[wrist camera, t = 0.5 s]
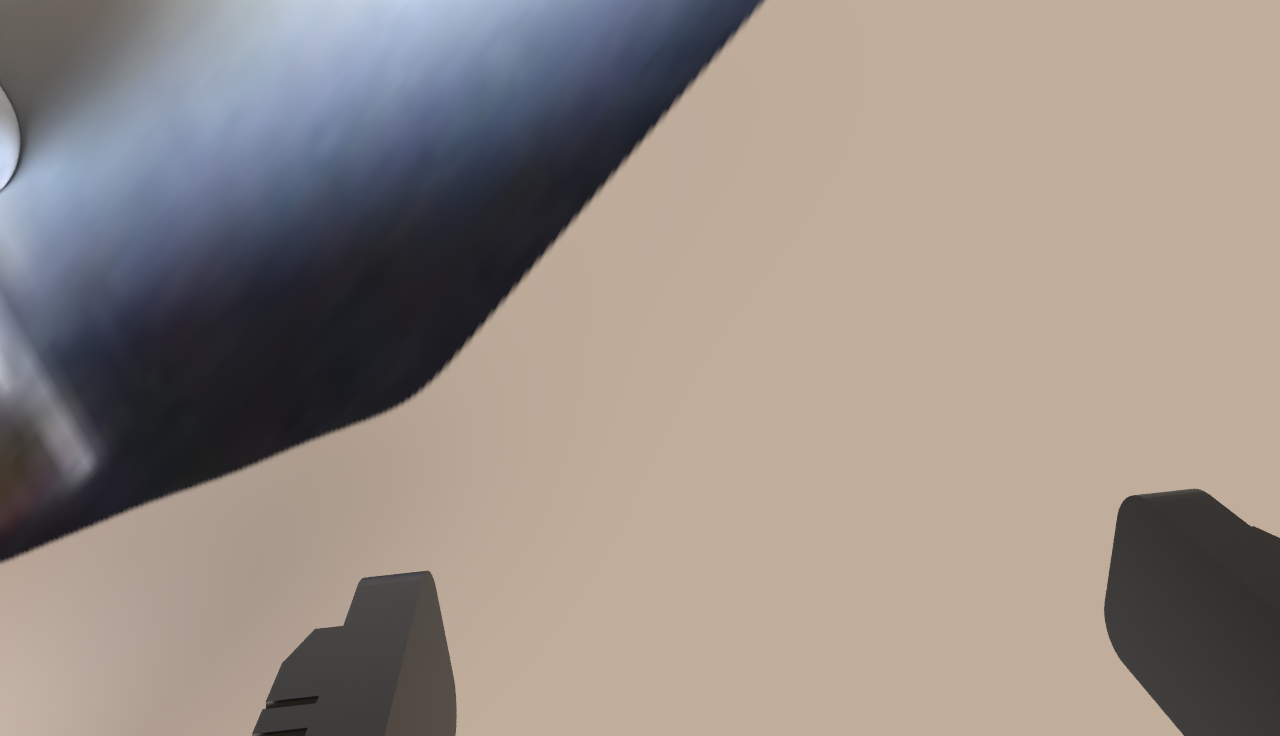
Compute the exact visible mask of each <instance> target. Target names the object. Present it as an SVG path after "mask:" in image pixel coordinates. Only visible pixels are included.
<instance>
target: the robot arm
mask: <svg viewBox="0 0 1280 736" xmlns="http://www.w3.org/2000/svg"><path fill="white" fill-rule="evenodd" d="M1104 614H1105V623H1106V627H1107V632H1108V635H1109V638H1110V641H1111V643H1112V645H1113V648H1114V650H1115V652H1116V653H1117V655H1118V657H1119V658H1120V660H1121V661H1122V662H1123V663H1124V665H1125V666H1126V667H1127V668H1128V669H1129V671H1130V672H1131V673H1132V674H1133V675H1134V676H1135V678H1136V679H1137V680H1138V681H1139V682H1140V684H1141V685H1142V686H1143V687H1144V689H1145V690H1146V691H1147V692H1148V693H1149V694H1150V695H1151V697H1152V698H1153V699H1154V700H1155V701H1156V703H1157V704H1158V705H1159V706H1160V707H1161V709H1162V710H1163V711H1164V712H1165V714H1166V715H1167V716H1168V717H1169V718H1170V720H1171V721H1172V722H1173V723H1174V724H1175V725H1176V727H1177V728H1178V729H1179V730H1180V731H1181V732H1182V734H1183V735H1184V736H1280V538H1278V537H1276V536H1274V535H1272V534H1270V533H1267V532H1265V531H1263V530H1261V529H1259V528H1256V527H1254V526H1253V527H1251V526H1249V525H1248V524H1247V523H1246V522H1244V521H1243V520H1242V519H1240V518H1239V517H1238V516H1236V515H1235V514H1234V513H1232V512H1231V511H1230V510H1229V509H1227V508H1226V507H1225V506H1223V505H1222V504H1221V503H1220V502H1218V501H1217V500H1216V499H1214V498H1213V497H1212V496H1211V495H1209V494H1207V493H1206V492H1204V491H1202V490H1199V489H1187V490H1178V491H1170V492H1161V493H1151V494H1142V495H1133V496H1130V497H1128V498H1126V499H1125V500H1124V501H1123V502H1122V504H1121V506H1120V508H1119V512H1118V516H1117V523H1116V530H1115V536H1114V543H1113V550H1112V556H1111V563H1110V570H1109V577H1108V584H1107V590H1106V598H1105V606H1104ZM455 734H456V693H455V683H454V677H453V672H452V667H451V662H450V656H449V651H448V646H447V641H446V636H445V631H444V626H443V621H442V616H441V611H440V606H439V601H438V596H437V591H436V586H435V582H434V579H433V577H432V575H431V573H430V572H429V571H422V572H412V573H404V574H394V575H385V576H376V577H368V578H363V579H361V581H360V582H359V584H358V586H357V589H356V592H355V595H354V597H353V600H352V603H351V606H350V609H349V612H348V614H347V617H346V620H345V623H344V626H339V627H329V628H320V629H315V630H314V631H313V632H312V633H311V634H310V635H309V636H308V637H307V638H306V639H305V640H304V641H303V642H302V643H301V644H300V645H299V646H298V647H297V648H296V649H295V650H294V652H293V653H292V654H291V655H290V656H289V657H288V658H287V659H286V660H285V661H284V662H283V663H282V665H281V667H280V670H279V672H278V674H277V677H276V679H275V681H274V684H273V686H272V689H271V691H270V693H269V695H268V698H267V700H266V709H263V710H262V712H261V714H260V717H259V719H258V721H257V724H256V726H255V728H254V731H253V733H252V736H455Z"/></svg>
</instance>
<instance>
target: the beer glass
mask: <svg viewBox="0 0 1280 736" xmlns="http://www.w3.org/2000/svg"><path fill="white" fill-rule="evenodd" d="M19 154H20V131H19V126H18V121H17V118H16V115H15V112H14V110H13V107H12V105H11V103H10V101H9V99H8V97H7V96H6V94H5V92H4V91H3V89H2V88H1V87H0V190H1V189H2V188H3V187H4V186H5V185H6V184H7V182H8V181H9V180H10V178H11V176H12V175H13V173H14V171H15V168H16V166H17V163H18V159H19Z"/></svg>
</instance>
